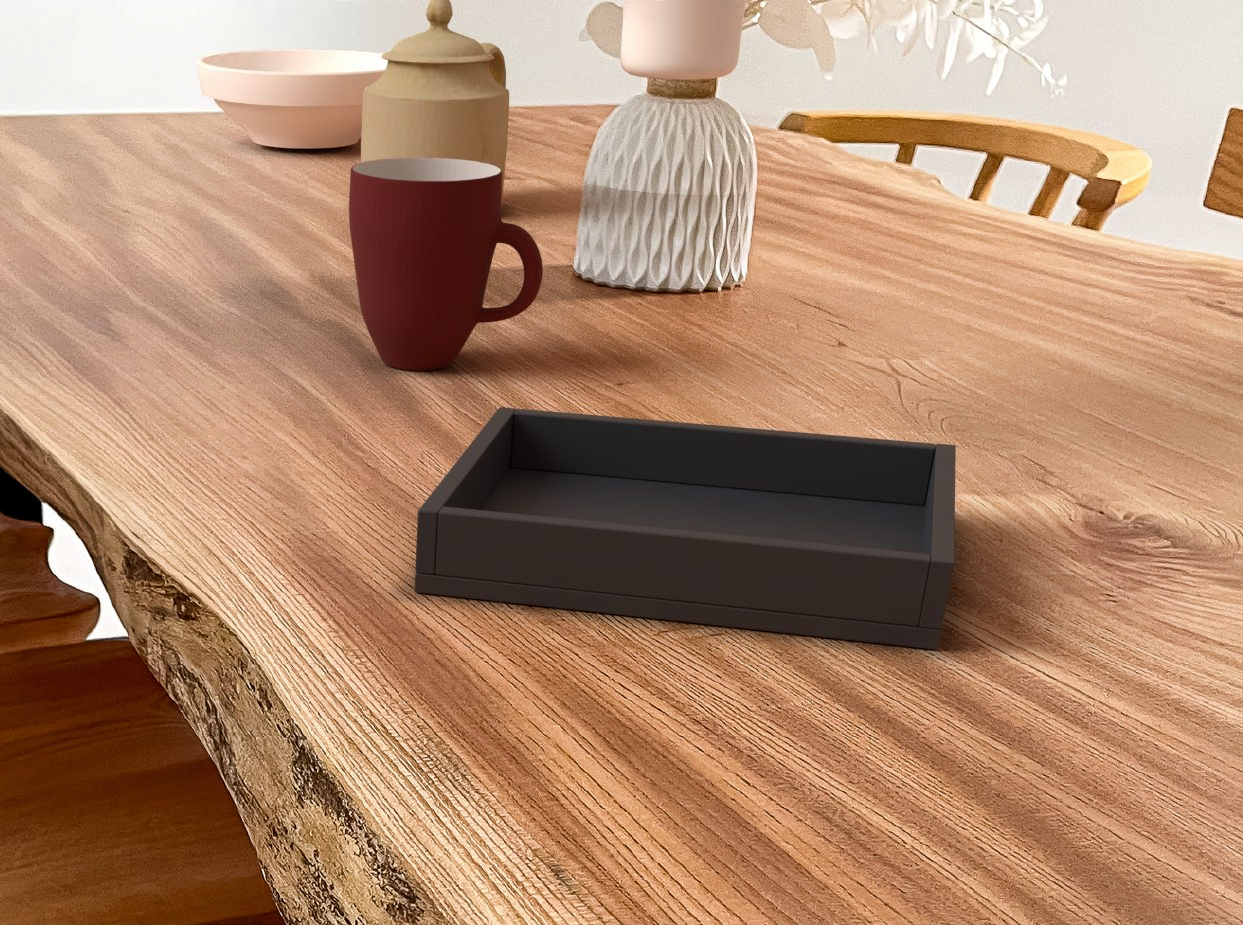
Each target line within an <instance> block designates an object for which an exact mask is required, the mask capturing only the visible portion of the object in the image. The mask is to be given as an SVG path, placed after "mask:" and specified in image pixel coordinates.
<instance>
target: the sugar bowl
mask: <svg viewBox="0 0 1243 925" xmlns="http://www.w3.org/2000/svg"><path fill="white" fill-rule="evenodd" d="M453 12H454V11H453V6H452V2H451V1H450V0H430V1H429V3H428V5H427V8H426V12H425V16H426V19H427V21H428V22H429V28H428V29H427V30H425V31H422V32H419V33H416V34H414V35H411V36H408V37H406V38H403V39H401V40H399V41H398V42H397V43H395V45H394V46H393V47H392V48H391V50H390V51H387V52H385V53H384V54H383V55H382V56H381V57H382V59H385V60H388V62H387V66H386V69H385V71H384V73H383V74H382V76H381V77H380V78H379V79H378V80H377V81H376V82H375V83H374V84H371V85H369V86H367V87H365V89H364V94H363V111H362V133H361V137H360V163H362V162H366V161H372V160H380V159H391V158H448V159H461V160H470V161H477V162H482V163H487V164H491V165H494V166H497V167H499V168H500V169H501V170H502V201H501V209H502V208H503V199H504V186H505V176H506V175H505V174H506V163H507V153H508V152H507V151H508V136H509V118H510V90H509V89H508V88H507V87H506V86H507V69H506V61H505V56H504V54H503V52H502V51H501V49H500V47H498V46H497V45H495V44H493V43H491V42H481V43H480V42H479V41H477V39H474V38H473V37H472V38H471V37H469V36H466V35H464V34H461V33H458V32H455V31H453V30H451V29H450V28H449V27H448V26H449V24H450V22H451V20H452V18H453V15H454V13H453Z"/></svg>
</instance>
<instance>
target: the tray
mask: <svg viewBox="0 0 1243 925" xmlns="http://www.w3.org/2000/svg"><path fill="white" fill-rule="evenodd" d="M956 446H957V445H956V444H948V443H947V444H946V443H931V442H922V441H921V442H920V441H909V440H896V439H886V438H885V439H884V438H872V437H859V436H848V435H837V434H836V435H835V434H826V433H824V434H823V433H813V432H803V431H802V432H801V431H791V430H790V431H789V430H777V429H765V428H755V427H754V428H752V427H742V426H741V427H740V426H730V425H720V424H719V425H718V424H705V423H693V422H682V421H670V420H658V419H645V418H634V417H624V416H623V417H622V416H612V415H611V416H610V415H600V414H599V415H598V414H587V413H586V414H585V413H577V412H576V413H575V412H563V411H551V410H550V411H549V410H540V409H539V410H538V409H527V408H515V407H506V406H505V407H504V406H500V407H498V408H497V410H496V411H495V412H494V413H493V415H492V416H491V417H490V418H489V419H488V421H487V422H486V423H485V424H484V426H483V428H482V429H481V430H480V431H479V433H478V434H477V435H476V436H475V438H474V439H473V440H472V441H471V443H470V444H469V445H468V446H467V448H466V449H465V450H464V452H463V453H462V454H461V455H460V456H459V458H458V459H457V460H456V462H455V463H454V464H453V466H452V467H451V468H450V469H449V471H447V473H446V474H445V475H444V477H443V478H442V480H441V481H440V482H439V483H438V484H437V486H436V487H435V489H434V490H433V491H432V492H431V493H430V495H429V496H428V497H427V499H426V500H425V501H424V502H423V504H421V506H420V507H419V509H418V510H417V519H416V520H417V523H416V544H415V563H414V564H415V565H414V571H415V573H414V585H413V586H414V590H413V591H414V593H419V594H426V595H427V594H429V595H436V596H444V597H446V596H447V597H454V598H455V597H456V598H466V599H472V600H480V601H481V600H482V601H491V602H500V603H510V604H519V605H528V606H537V607H546V608H554V609H564V610H573V611H581V612H590V613H599V614H600V613H601V614H609V615H618V616H626V617H636V618H646V619H655V620H663V621H672V622H673V621H674V622H681V623H682V622H683V623H690V624H700V625H708V626H709V625H710V626H716V627H717V626H719V627H726V628H737V629H744V630H745V629H746V630H753V631H762V632H763V631H764V632H771V633H772V632H773V633H782V634H789V635H800V636H808V637H817V638H827V639H836V640H845V641H853V642H862V643H873V644H882V645H890V646H891V645H892V646H899V647H910V648H917V649H927V650H937V649H938V648H939V643H940V637H941V633H942V628H943V624H944V618H945V612H946V608H947V602H948V598H949V594H950V593H949V592H950V588H951V583H952V578H953V573H954V569H955V568H954V567H955V544H956V543H955V539H956V536H955V534H956V465H957V464H956V462H957V461H956V459H957V458H956V457H957V456H956V453H957V450H956V449H957V447H956Z"/></svg>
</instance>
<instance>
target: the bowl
mask: <svg viewBox="0 0 1243 925" xmlns="http://www.w3.org/2000/svg"><path fill="white" fill-rule="evenodd" d="M383 54H384V53H383V52H374V51H364V50H363V51H361V50H348V49H347V50H345V49H321V48H320V49H317V48H313V49H312V48H309V49H307V48H304V49H303V48H297V49H295V48H292V49H291V48H290V49H289V48H287V49H285V48H284V49H283V48H282V49H257V50H241V51H240V50H239V51H231V52H230V51H229V52H222V53H214V54H210V55H206V56H202V57H200V58H198V60H197V61H196V68H197V69H196V70H197V78H198V82H199V83H198V84H199V87H200V91H201V94H202V95H203V96H204V97H207V98H209V99H213V101H214V103H215V104H216V105H217V106H218V107H219V108H220V109H221V110H222V111H223V112H224V113H225V114H226V115H227V116H228V117H229V118H230V119H231V120H233V121H234V122H235V123H237V125H238V126H240V127H241V128H242V129H243V130H244V131H245V132H246V133H247V135H248V136H249V139H251V141H252V142H253V143H255V144H257V145H259V146H266V147H274V148H283V149H331V148H339V147H345V146H351V145H354V144H356V143H358V142H359V140H360V139H361V133H362V111H363V94H364V89H365V87H367V86H369V85H371V84H374V83H375V82H376V81H377V80H378V79H379V78H380V77H381V76H382V74H383V73H384V71H385V69H386V66H387V62H388V60H385V59H382V57H381V56H382V55H383Z"/></svg>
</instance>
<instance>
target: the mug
mask: <svg viewBox="0 0 1243 925" xmlns="http://www.w3.org/2000/svg"><path fill="white" fill-rule="evenodd" d="M349 175H350V176H349V192H348V193H349V194H348V196H349V197H348V223H349V234H350V241H351V249H352V256H353V263H354V272H355V277H356V278H355V279H356V285H357V293H358V301H359V306H360V311H361V312H360V313H361V315H362V319H363V322H364V324H365V326H366V329H367V331H368V335H369V336H370V338H371V341H372V343H373V345H374V348H375V349H376V351H377V353H378V355H379V358H380V360H381V362H382V363H383V364H385V365H387V367H392V368H395V369H399V370H406V371H435V370H442V369H446V368H448V367H450V366H452V365H453V364H454V363H455V362H456V360H457V358H459V355H460V353H461V352H462V350H463V348H464V347H465V345H466V343H467V342H468V339H469V338H470V336H471V334H472V332H474V329H475V328H476V326H477V324H479V323H481V324H484V323H485V324H487V323H495V322H502V321H507V320H509V319H512V318H514V317H516V316H519V315H520V314H522V313H523V312H524V311H526V310H527V309H528V308H530V306H531V305H532V304H533V302H534V301H535V299H536V298H537V296H538V293H539V291H540V289H541V286H542V281H543V274H544V267H543V259H542V255H541V251H540V249H539V247H538V244H537V243H536V241H535V239H534V238H533V236H532V235H531V234H530V233H529V232H528V231H527V230H526V229H524V228H523V227H522V226H520V225H517V224H515V223H511V222H503V221H502V208H501V201H502V202H503V200H502V170H501V169H500V168H499V167H497V166H494V165H491V164H487V163H482V162H477V161H470V160H461V159H448V158H391V159H380V160H372V161H366V162H362V163H361V162H358V163H355V164H353V165H352V166H351V167H350V174H349ZM497 244H503V245H507V246H510V247H512V249H514V251H516V252H517V254H518V256H519V257H520V260H521V262H522V267H523V281H522V286H521V289H520V292H519V294H518V295H517V297H516V298H515V299H514V300H513V301H512V302H510V303H508V304H506V305H503V306H496V307H484V299H485V294H486V289H487V284H488V279H489V275H490V272H491V266H492V262H493V259H494V255H495V251H496V248H497Z"/></svg>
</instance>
